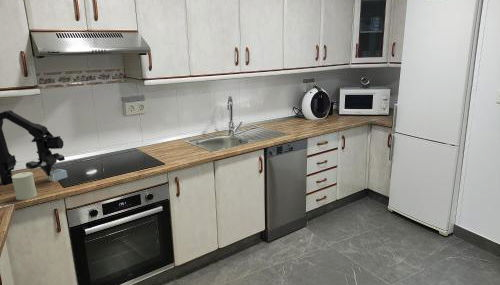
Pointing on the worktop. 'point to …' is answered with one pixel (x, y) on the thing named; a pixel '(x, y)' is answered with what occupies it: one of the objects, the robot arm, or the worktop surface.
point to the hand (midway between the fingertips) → (48, 176)
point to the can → (24, 185)
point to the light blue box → (57, 175)
